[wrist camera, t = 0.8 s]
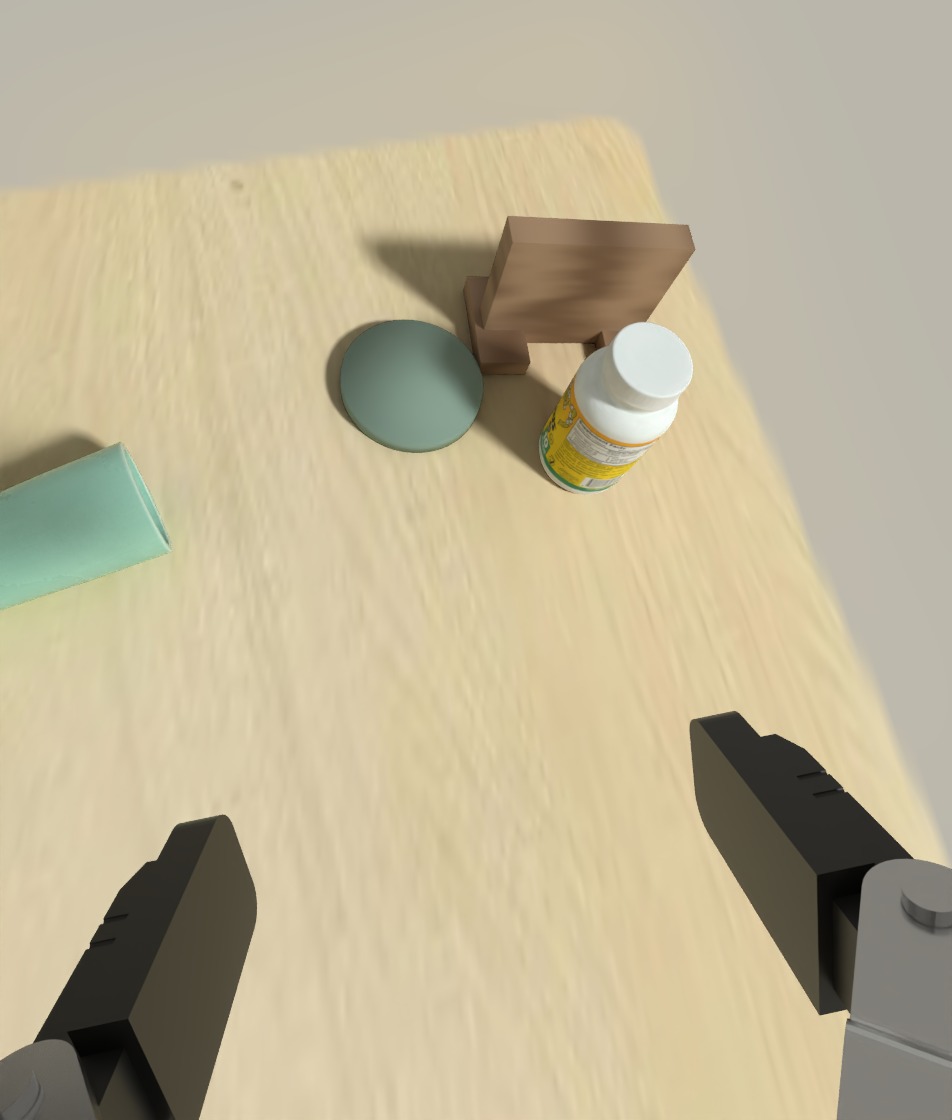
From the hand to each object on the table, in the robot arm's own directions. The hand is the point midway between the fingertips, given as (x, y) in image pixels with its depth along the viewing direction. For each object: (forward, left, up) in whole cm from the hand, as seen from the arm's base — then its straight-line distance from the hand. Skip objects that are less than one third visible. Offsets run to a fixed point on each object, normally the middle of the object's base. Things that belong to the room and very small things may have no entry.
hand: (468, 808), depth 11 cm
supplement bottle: (-10, +19, -21) cm, 30 cm away
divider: (-17, +22, -21) cm, 35 cm away
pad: (-18, +12, -21) cm, 30 cm away
